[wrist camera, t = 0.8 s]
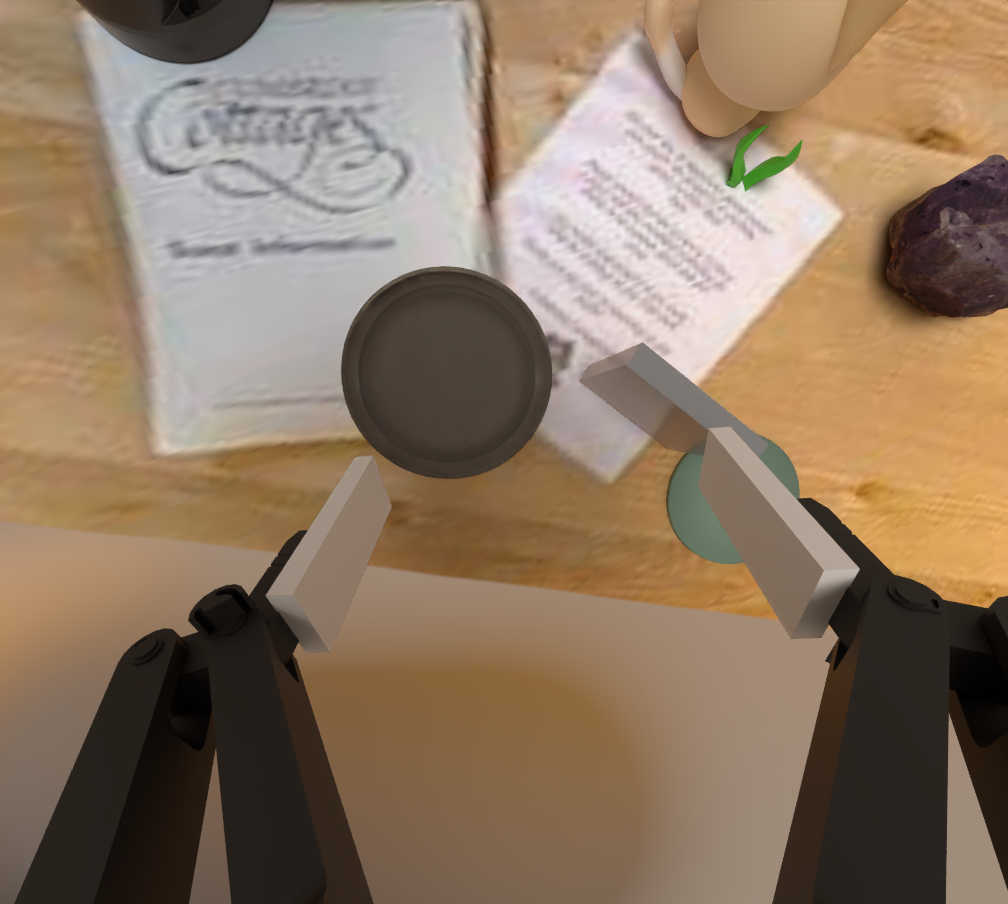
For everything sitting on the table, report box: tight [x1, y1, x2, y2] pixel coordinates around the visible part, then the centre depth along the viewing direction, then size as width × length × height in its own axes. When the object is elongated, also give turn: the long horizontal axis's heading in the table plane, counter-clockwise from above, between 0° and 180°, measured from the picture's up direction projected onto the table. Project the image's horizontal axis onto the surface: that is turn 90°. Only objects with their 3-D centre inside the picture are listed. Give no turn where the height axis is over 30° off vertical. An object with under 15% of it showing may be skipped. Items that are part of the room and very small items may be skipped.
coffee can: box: [341, 266, 552, 479], centre depth 26 cm, size 10×10×14 cm
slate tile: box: [579, 343, 769, 458], centre depth 28 cm, size 2×10×11 cm, turn 54°
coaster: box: [666, 435, 799, 564], centre depth 35 cm, size 12×12×1 cm
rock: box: [886, 155, 1008, 317], centre depth 30 cm, size 12×9×10 cm
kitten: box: [644, 0, 908, 191], centre depth 24 cm, size 15×10×15 cm, turn 32°
